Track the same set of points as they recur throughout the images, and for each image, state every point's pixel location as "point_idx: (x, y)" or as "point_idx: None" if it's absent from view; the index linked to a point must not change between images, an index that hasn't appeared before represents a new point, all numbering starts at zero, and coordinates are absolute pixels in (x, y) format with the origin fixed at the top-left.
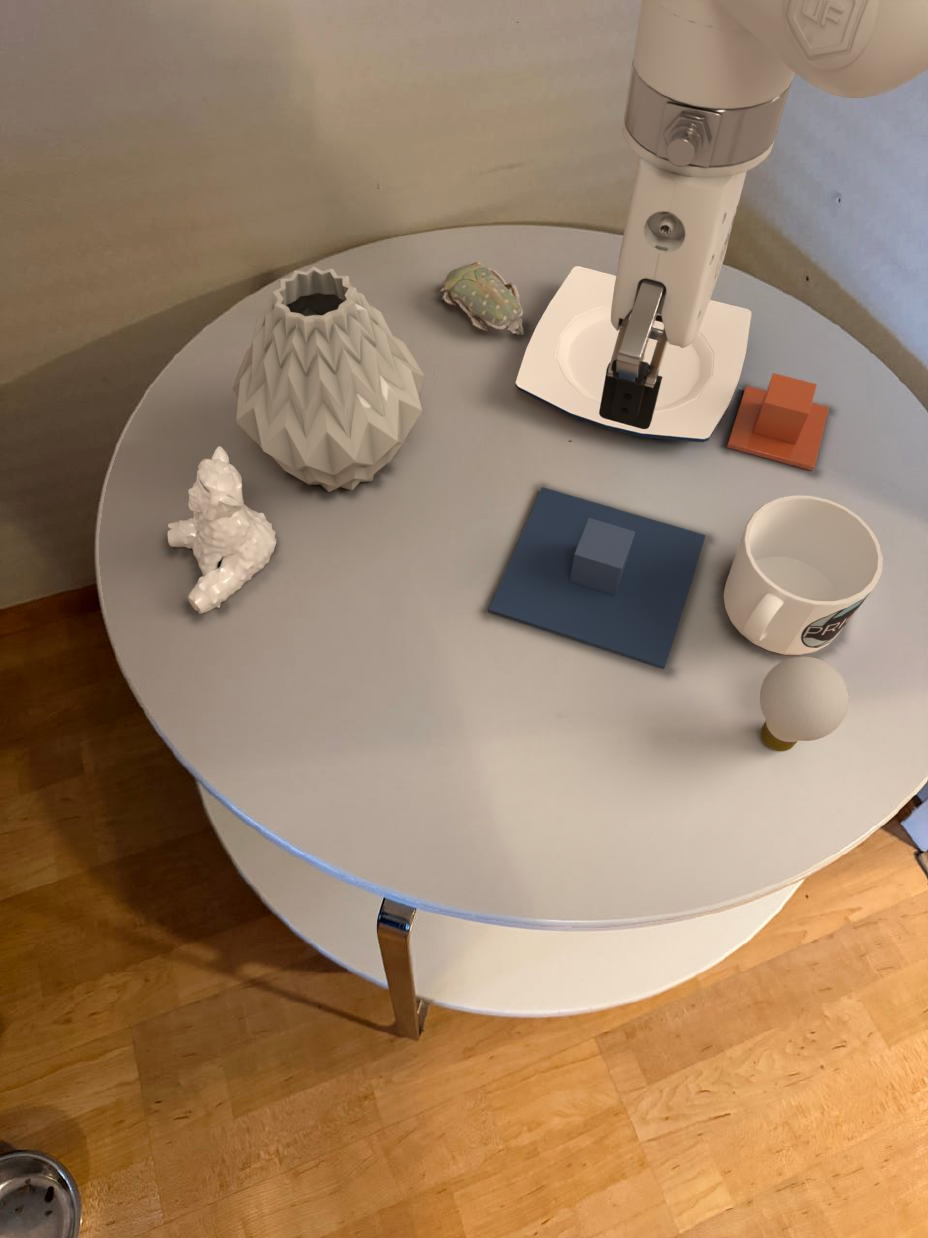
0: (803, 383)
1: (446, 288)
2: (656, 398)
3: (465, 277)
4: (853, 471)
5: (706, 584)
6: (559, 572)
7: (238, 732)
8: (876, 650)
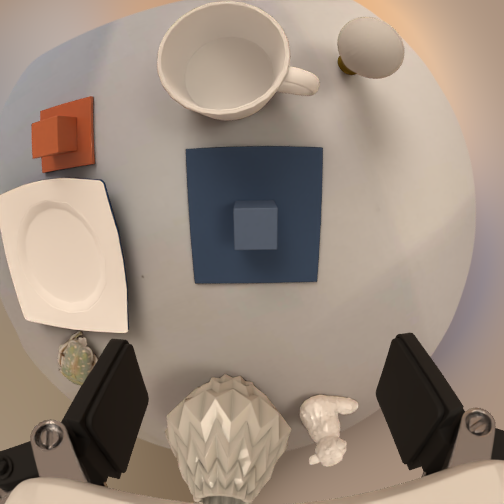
0: (33, 132)
1: None
2: (440, 376)
3: (76, 379)
4: (85, 71)
5: (232, 134)
6: None
7: None
8: None
